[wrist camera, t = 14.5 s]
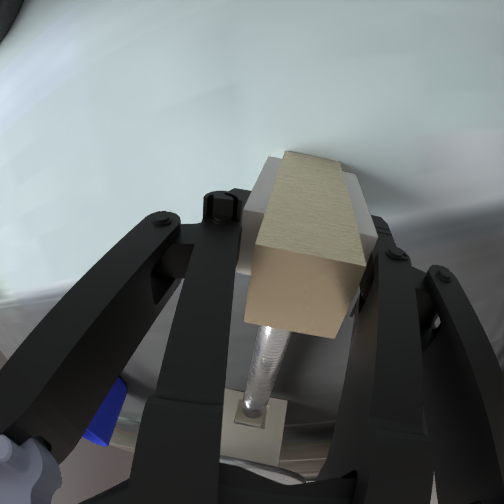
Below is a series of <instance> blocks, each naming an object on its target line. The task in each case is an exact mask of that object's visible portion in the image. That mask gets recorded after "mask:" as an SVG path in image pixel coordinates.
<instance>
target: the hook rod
mask: <svg viewBox="0 0 504 504" xmlns="http://www.w3.org/2000/svg"><path fill="white" fill-rule="evenodd" d="M365 269H366V262H365V257H364V253H363V248H362V244H361V240H360V235H359V231H358V227H357V223H356V219H355V215H354V211H353V207H352V203H351V199H350V196H349V192H348V188H347V185H346V181H345V178H344V174H343V171H342V168H341V164H340V162H337V161H333V160H328V159H324V158H319V157H314V156H309V155H304V154H299V153H294V152H289V151H285V152H284V155H283V158H282V161H281V165H280V168H279V171H278V174H277V177H276V180H275V183H274V186H273V190H272V193H271V196H270V199H269V202H268V205H267V208H266V212H265V215H264V218H263V221H262V224H261V227H260V230H259V233H258V237H257V240H256V243H255V248H254V255H253V262H252V269H251V276H250V283H249V290H248V297H247V304H246V310H245V317H244V322H247V323H252V324H257V325H259V328H258V332H257V337H256V342H255V347H254V352H253V357H252V362H251V367H250V371H249V376H248V381H247V386H246V390H245V393H244V397H243V402H242V407H241V409H242V412H243V414H244V415H245V416H247V417H249V418H252V419H255V418H259V417H261V416H262V415H263V414H264V412H265V409H266V407H267V404H268V402H269V398H270V395H271V392H272V389H273V386H274V384H275V381H276V378H277V375H278V372H279V369H280V367H281V364H282V361H283V358H284V355H285V352H286V349H287V346H288V343H289V340H290V337H291V334H292V332H298V333H303V334H309V335H315V336H321V337H327V338H333V339H335V337H336V334H337V332H338V330H339V328H340V326H341V324H342V322H343V320H344V317H345V315H346V313H347V311H348V309H349V306H350V304H351V302H352V300H353V297H354V295H355V293H356V290H357V288H358V286H359V283H360V281H361V278H362V276H363V274H364V271H365Z"/></svg>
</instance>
